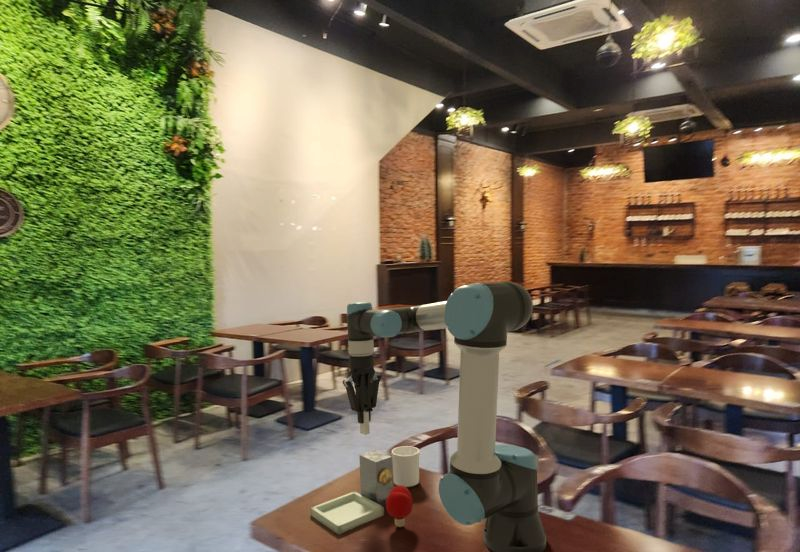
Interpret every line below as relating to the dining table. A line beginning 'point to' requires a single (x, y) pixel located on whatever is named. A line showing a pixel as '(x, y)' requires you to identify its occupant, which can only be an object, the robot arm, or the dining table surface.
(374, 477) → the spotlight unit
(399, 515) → the red rounded piece
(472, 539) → the dining table surface
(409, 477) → the mug
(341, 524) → the tray
